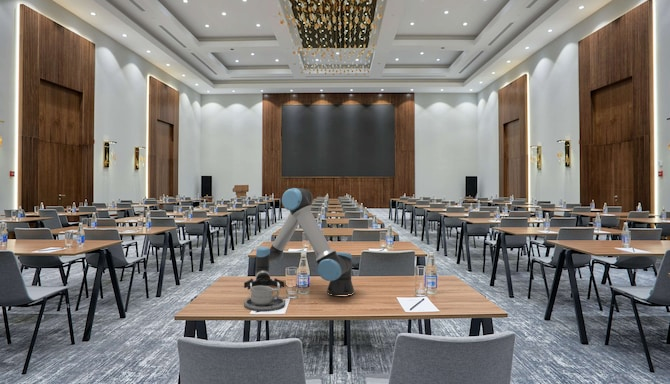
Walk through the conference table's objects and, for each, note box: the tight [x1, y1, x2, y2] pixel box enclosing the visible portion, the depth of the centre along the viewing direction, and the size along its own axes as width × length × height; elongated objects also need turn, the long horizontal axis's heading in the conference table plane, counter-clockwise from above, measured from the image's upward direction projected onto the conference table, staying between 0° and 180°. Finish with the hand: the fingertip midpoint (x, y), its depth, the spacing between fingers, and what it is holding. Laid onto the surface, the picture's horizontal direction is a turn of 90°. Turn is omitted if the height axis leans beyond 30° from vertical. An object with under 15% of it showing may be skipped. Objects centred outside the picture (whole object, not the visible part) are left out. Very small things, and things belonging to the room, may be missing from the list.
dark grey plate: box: [243, 295, 286, 312], centre depth 205 cm, size 20×20×2 cm
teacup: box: [250, 286, 280, 306], centre depth 203 cm, size 14×11×8 cm
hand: (265, 288), depth 205 cm, fingers open, 13 cm apart
